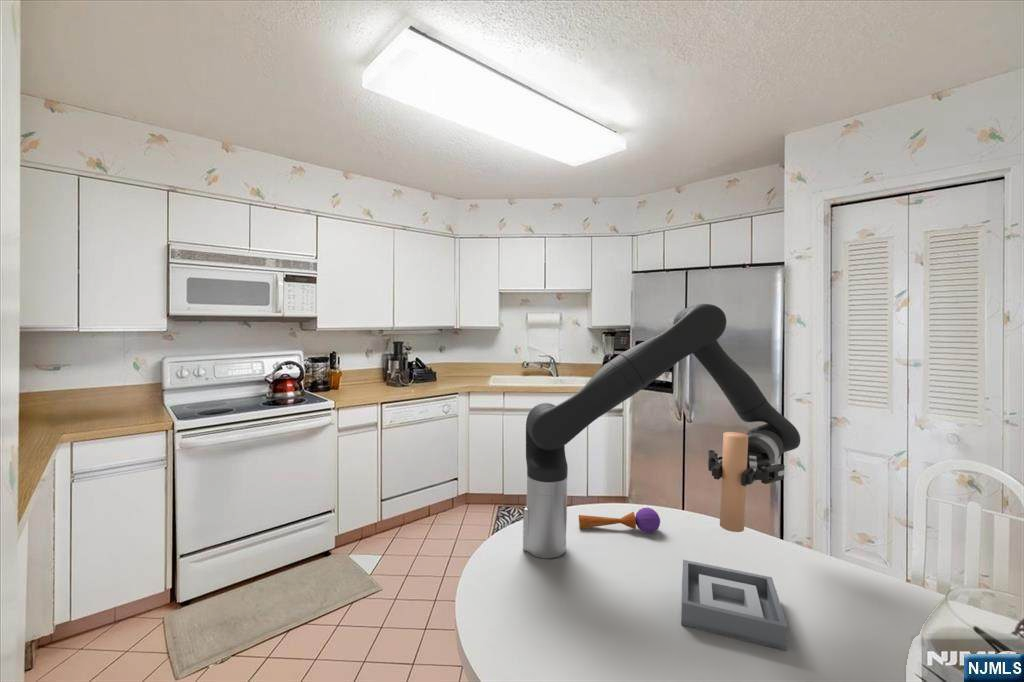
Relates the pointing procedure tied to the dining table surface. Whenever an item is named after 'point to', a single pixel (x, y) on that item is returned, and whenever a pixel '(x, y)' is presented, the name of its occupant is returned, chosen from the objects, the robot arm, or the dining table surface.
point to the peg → (733, 481)
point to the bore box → (732, 604)
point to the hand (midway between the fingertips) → (729, 476)
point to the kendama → (625, 520)
